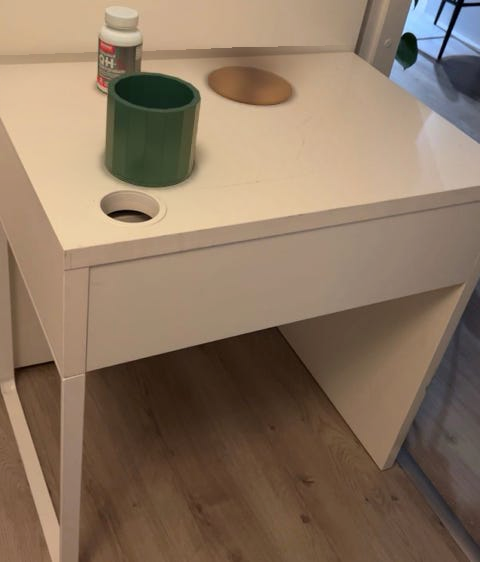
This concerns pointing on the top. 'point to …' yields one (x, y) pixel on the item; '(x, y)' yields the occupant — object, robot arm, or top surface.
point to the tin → (151, 128)
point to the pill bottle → (118, 45)
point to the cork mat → (249, 85)
